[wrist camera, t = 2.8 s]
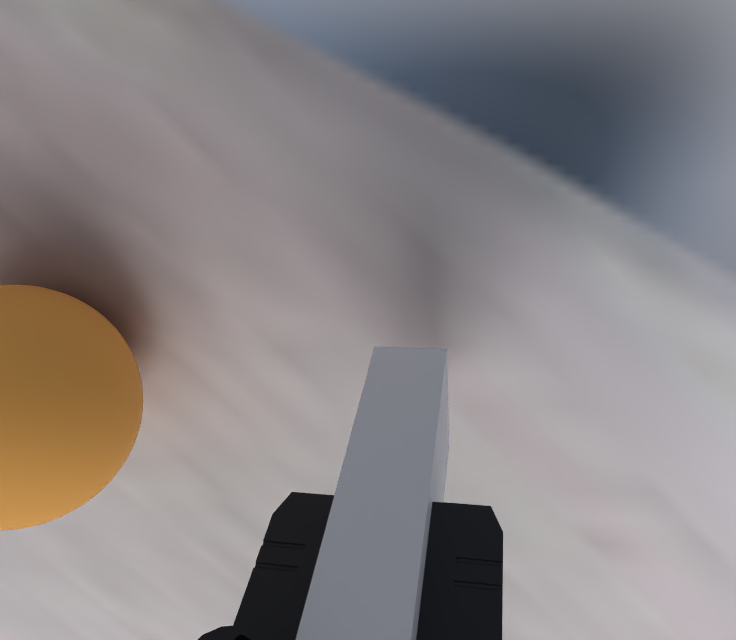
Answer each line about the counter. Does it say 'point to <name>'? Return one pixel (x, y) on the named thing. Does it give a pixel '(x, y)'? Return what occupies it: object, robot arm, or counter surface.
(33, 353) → the ball
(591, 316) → the counter surface
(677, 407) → the counter surface
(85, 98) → the counter surface
